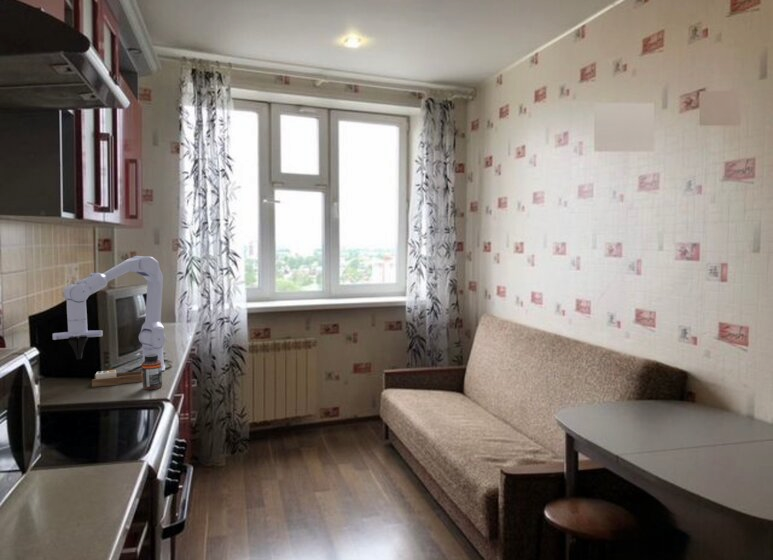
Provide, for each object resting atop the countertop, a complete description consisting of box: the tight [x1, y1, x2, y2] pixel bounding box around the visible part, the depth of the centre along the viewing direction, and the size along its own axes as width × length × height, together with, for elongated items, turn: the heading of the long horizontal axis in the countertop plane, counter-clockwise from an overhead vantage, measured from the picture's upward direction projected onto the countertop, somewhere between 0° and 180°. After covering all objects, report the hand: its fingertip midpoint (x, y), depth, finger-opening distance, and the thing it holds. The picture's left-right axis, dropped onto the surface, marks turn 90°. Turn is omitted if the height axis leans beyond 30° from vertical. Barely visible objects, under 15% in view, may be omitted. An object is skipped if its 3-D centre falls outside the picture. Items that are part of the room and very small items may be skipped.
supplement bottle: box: [141, 354, 163, 391], centre depth 172 cm, size 6×6×11 cm
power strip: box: [95, 369, 117, 379], centre depth 178 cm, size 3×6×4 cm, turn 113°
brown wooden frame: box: [91, 370, 143, 388], centre depth 180 cm, size 7×16×2 cm, turn 113°
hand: (79, 358), depth 174 cm, fingers closed
